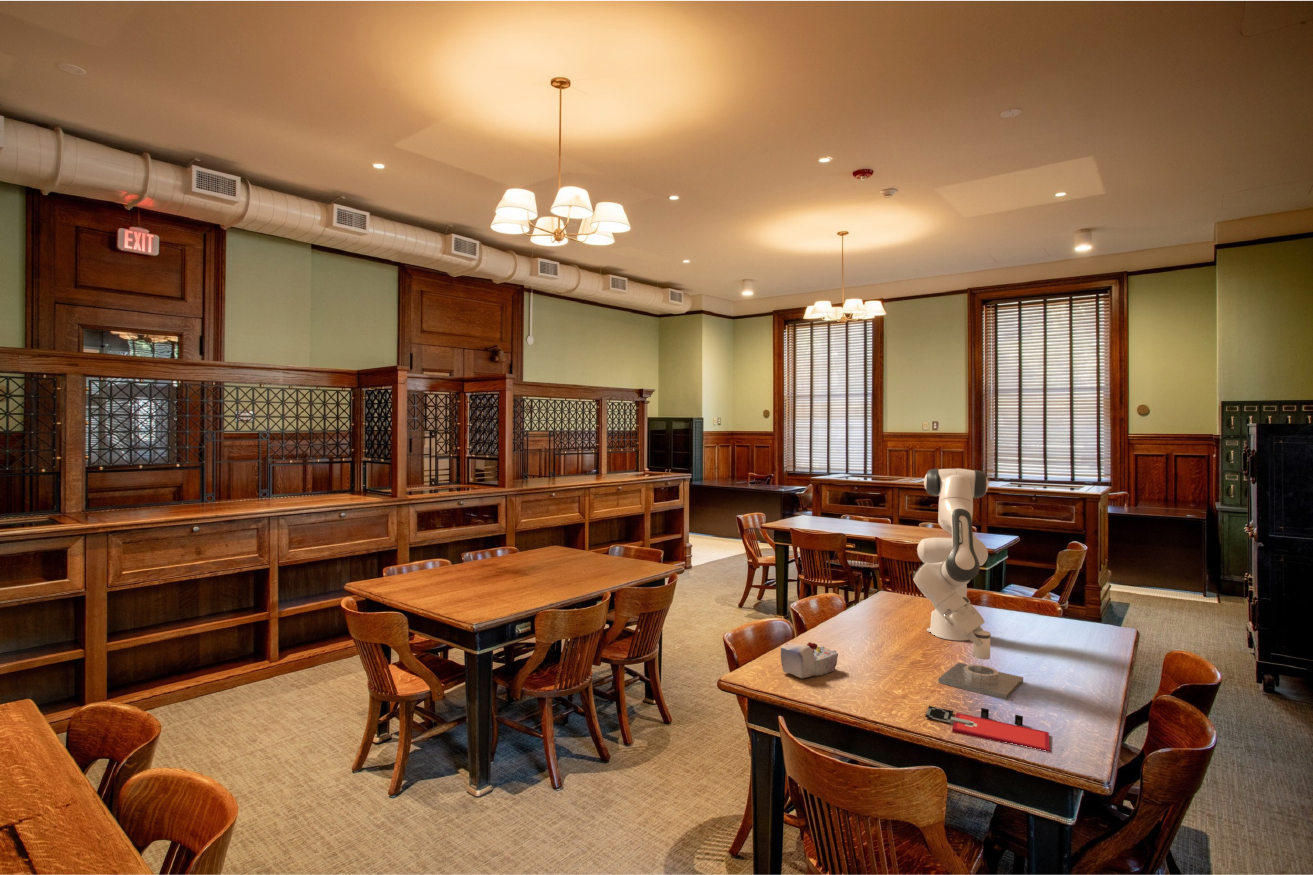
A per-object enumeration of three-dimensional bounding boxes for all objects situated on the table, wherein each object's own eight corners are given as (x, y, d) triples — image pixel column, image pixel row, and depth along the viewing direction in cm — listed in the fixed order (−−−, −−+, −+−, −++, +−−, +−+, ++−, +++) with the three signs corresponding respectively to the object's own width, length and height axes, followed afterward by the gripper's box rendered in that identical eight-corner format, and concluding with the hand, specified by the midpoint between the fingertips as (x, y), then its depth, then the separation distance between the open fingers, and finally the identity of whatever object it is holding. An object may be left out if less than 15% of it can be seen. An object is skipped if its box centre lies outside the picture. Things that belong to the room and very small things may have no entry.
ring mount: (958, 666, 227) (958, 655, 227) (1023, 681, 213) (1023, 669, 213) (938, 682, 212) (938, 670, 212) (1006, 699, 198) (1006, 686, 198)
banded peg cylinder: (975, 653, 216) (975, 628, 216) (992, 656, 213) (992, 632, 213) (970, 656, 212) (970, 632, 212) (987, 660, 209) (987, 635, 209)
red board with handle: (929, 706, 193) (922, 726, 180) (929, 697, 193) (922, 716, 180) (1048, 731, 178) (1049, 755, 165) (1048, 721, 178) (1049, 744, 165)
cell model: (776, 641, 219) (810, 630, 233) (775, 673, 219) (809, 661, 232) (809, 650, 209) (843, 639, 223) (808, 684, 209) (842, 671, 223)
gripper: (949, 607, 209) (981, 644, 203) (968, 596, 225) (999, 631, 218) (934, 618, 212) (966, 656, 206) (955, 607, 228) (985, 641, 221)
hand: (983, 643), depth 212 cm, fingers closed on banded peg cylinder, 5 cm apart
